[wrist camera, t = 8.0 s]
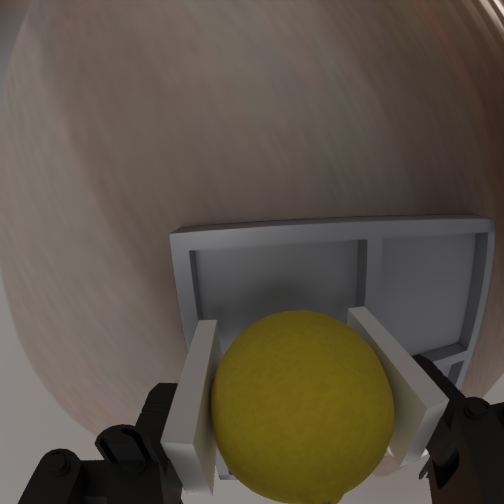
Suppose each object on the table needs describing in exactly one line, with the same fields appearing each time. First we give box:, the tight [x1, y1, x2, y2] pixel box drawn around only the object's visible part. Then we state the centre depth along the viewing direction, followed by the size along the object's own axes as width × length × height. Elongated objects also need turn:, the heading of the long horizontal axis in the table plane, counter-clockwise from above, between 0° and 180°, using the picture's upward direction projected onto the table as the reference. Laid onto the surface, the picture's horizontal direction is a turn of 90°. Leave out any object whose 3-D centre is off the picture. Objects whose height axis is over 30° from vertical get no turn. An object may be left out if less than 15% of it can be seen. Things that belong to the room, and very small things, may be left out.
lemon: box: [211, 310, 394, 504], centre depth 8 cm, size 6×6×8 cm
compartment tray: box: [169, 215, 496, 480], centre depth 15 cm, size 18×18×2 cm
